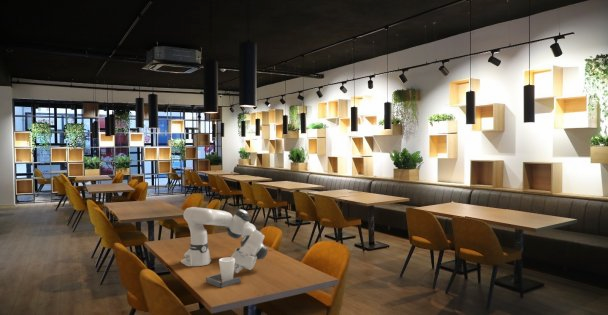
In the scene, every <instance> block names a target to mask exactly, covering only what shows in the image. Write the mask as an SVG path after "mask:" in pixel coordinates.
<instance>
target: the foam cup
mask: <svg viewBox="0 0 608 315" xmlns="http://www.w3.org/2000/svg"><path fill="white" fill-rule="evenodd" d="M218 264H219V270H220V273H221V278H222V279H221V282H223V281H226V280H230V279H233V278H234V275H235V272H234V268H235V258H231V256H230V257H228V256H227V257H222V258H219V259H218Z"/></svg>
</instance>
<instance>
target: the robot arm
mask: <svg viewBox="0 0 608 315" xmlns="http://www.w3.org/2000/svg"><path fill="white" fill-rule="evenodd" d="M182 216H183V219H184V220H185V221H186V223H187V225H188V229H189V231H190V243H189V244H188V245H189V249H188V250H187V251H186V252H184V255H183V258H182V259H180V263H181V264H183V265H185V266H186V267H201V266H206V265H209V264H210V263H211V262H212V259H211V256H210V255H211V254H210V250H209V242H208V232H207V229H205V226H204V225H207V226H208V225H209V226H210V225H211V226H218V227H220V226H221V227H223V226H224V227H226V228H225V231H226V232H227V235H228V236H229V237H230V238H232V239H235V240H236V239H237V240H238V239H240V238H242V240H241V241H240V247H236V248H235V249H234V250H235V251H233V253H232V254H231V256H230V257H231V258H235V265H234V274H238V273H240V271H241V270H243V269H247V270H249V271H251V270H252V269H253V268H254V267H255V264H256V262H257V261H258V260H263V259H265V257H266V256H267V254H268V246H266V245H264V239H265V234H264V233H263V232H262V231H260V230H258V229H257V227H256V226H255V225H254V224H253V223H251V222H250V221H251V218H250V214H249V212H248V211H247V210H244V209H241V208H240V209H237V210H236V211H235V212H234V215H232V213H230V212H228V211H225V210H220V209H212V208H205V207H198V206H197V207H196V206H191V207H187V208H185V209H184V211H183V215H182Z"/></svg>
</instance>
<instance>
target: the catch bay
mask: <svg viewBox="0 0 608 315" xmlns="http://www.w3.org/2000/svg"><path fill="white" fill-rule="evenodd" d="M219 280H222V278H221V272H219V273H217V274H213V275H210V276H206V277H205V282H206V283H207V284H210V285H211V286H215V287H217V288H220V289H222V288H225V287H228V286H231V285H236V284H239V283H241V277H240V276H237V277H233V279H230V280H226V281H223V282H222V281H219Z"/></svg>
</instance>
